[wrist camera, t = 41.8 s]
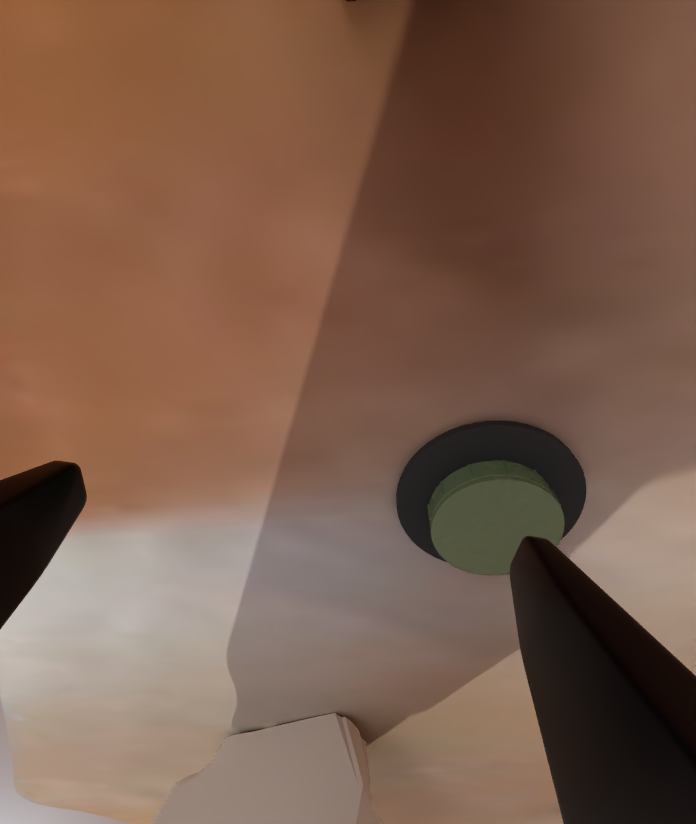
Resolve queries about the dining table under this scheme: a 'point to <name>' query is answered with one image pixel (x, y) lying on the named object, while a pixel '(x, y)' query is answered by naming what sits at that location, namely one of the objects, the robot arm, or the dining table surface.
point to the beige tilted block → (280, 779)
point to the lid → (491, 515)
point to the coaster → (487, 445)
